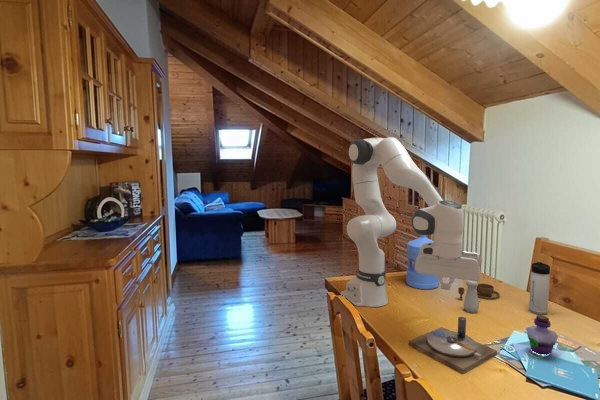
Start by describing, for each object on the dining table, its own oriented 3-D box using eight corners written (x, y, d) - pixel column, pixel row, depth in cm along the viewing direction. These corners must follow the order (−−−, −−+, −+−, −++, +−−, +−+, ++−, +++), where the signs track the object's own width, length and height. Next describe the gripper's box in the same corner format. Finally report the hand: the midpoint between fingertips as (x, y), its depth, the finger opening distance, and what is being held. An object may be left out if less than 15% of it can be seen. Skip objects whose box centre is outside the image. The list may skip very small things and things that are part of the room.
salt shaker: (480, 314, 143) (481, 283, 142) (465, 313, 145) (466, 282, 143) (476, 308, 149) (477, 278, 148) (461, 307, 150) (462, 277, 149)
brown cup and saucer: (507, 304, 154) (508, 291, 154) (459, 302, 157) (459, 289, 156) (491, 290, 172) (491, 278, 171) (447, 288, 174) (448, 277, 174)
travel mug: (545, 310, 147) (548, 262, 144) (548, 316, 141) (551, 267, 138) (527, 307, 149) (530, 261, 147) (530, 313, 143) (532, 265, 141)
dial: (417, 342, 118) (418, 321, 118) (443, 329, 127) (444, 310, 126) (460, 362, 106) (461, 339, 105) (486, 347, 115) (487, 325, 114)
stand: (408, 345, 120) (408, 337, 120) (441, 330, 130) (441, 323, 130) (463, 373, 104) (463, 365, 103) (496, 355, 113) (497, 347, 113)
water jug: (441, 282, 182) (443, 228, 179) (435, 292, 168) (436, 233, 165) (410, 277, 190) (411, 225, 187) (402, 286, 177) (403, 230, 174)
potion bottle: (521, 352, 115) (523, 316, 113) (528, 342, 121) (530, 308, 119) (553, 363, 108) (556, 325, 107) (559, 352, 114) (561, 316, 113)
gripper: (482, 251, 118) (479, 291, 119) (418, 243, 127) (416, 281, 129) (482, 255, 112) (479, 297, 114) (415, 248, 121) (413, 287, 123)
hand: (445, 289), depth 121 cm, fingers closed
